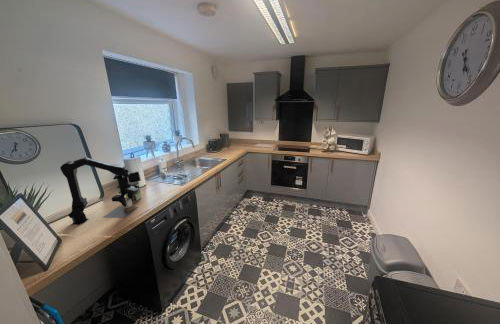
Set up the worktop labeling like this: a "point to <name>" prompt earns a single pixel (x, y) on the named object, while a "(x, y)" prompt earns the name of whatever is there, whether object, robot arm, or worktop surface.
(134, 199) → the coffee can
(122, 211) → the board
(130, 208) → the base
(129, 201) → the cap
